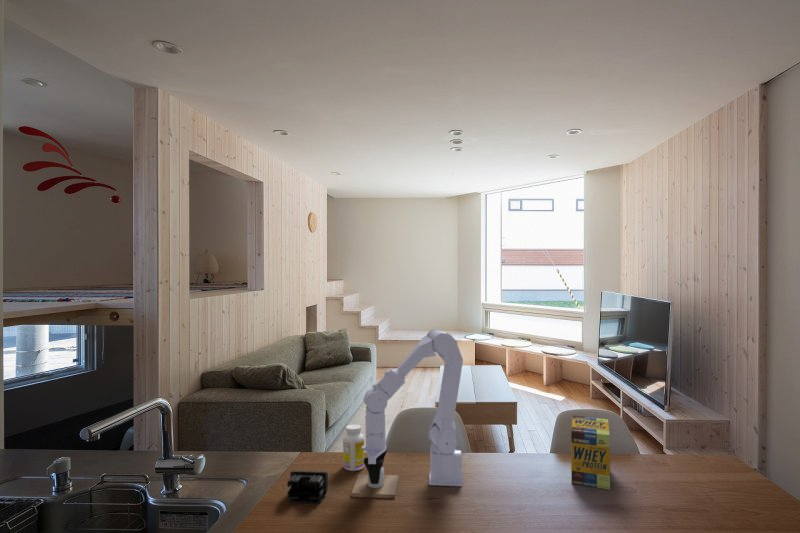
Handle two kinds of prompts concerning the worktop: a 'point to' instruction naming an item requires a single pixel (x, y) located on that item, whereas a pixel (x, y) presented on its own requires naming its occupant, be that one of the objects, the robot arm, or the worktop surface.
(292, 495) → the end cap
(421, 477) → the worktop surface
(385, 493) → the post board
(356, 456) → the supplement bottle
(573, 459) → the protein box
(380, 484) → the cap
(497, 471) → the worktop surface
